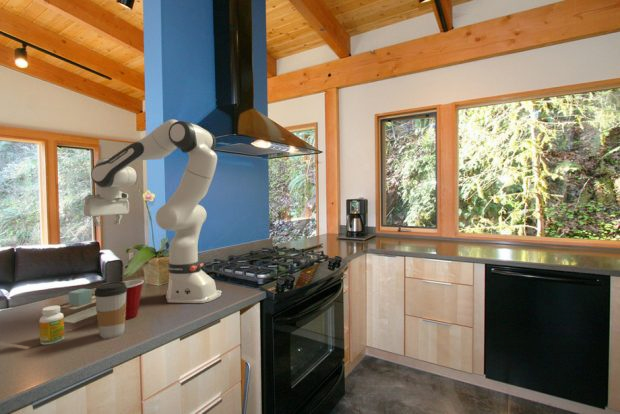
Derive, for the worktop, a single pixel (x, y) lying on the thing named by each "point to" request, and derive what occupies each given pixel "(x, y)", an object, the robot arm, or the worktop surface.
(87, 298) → the teal block
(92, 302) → the oak strip
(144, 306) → the worktop surface
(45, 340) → the supplement bottle
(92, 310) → the grey block
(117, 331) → the coffee cup
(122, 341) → the worktop surface
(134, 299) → the plastic cup
